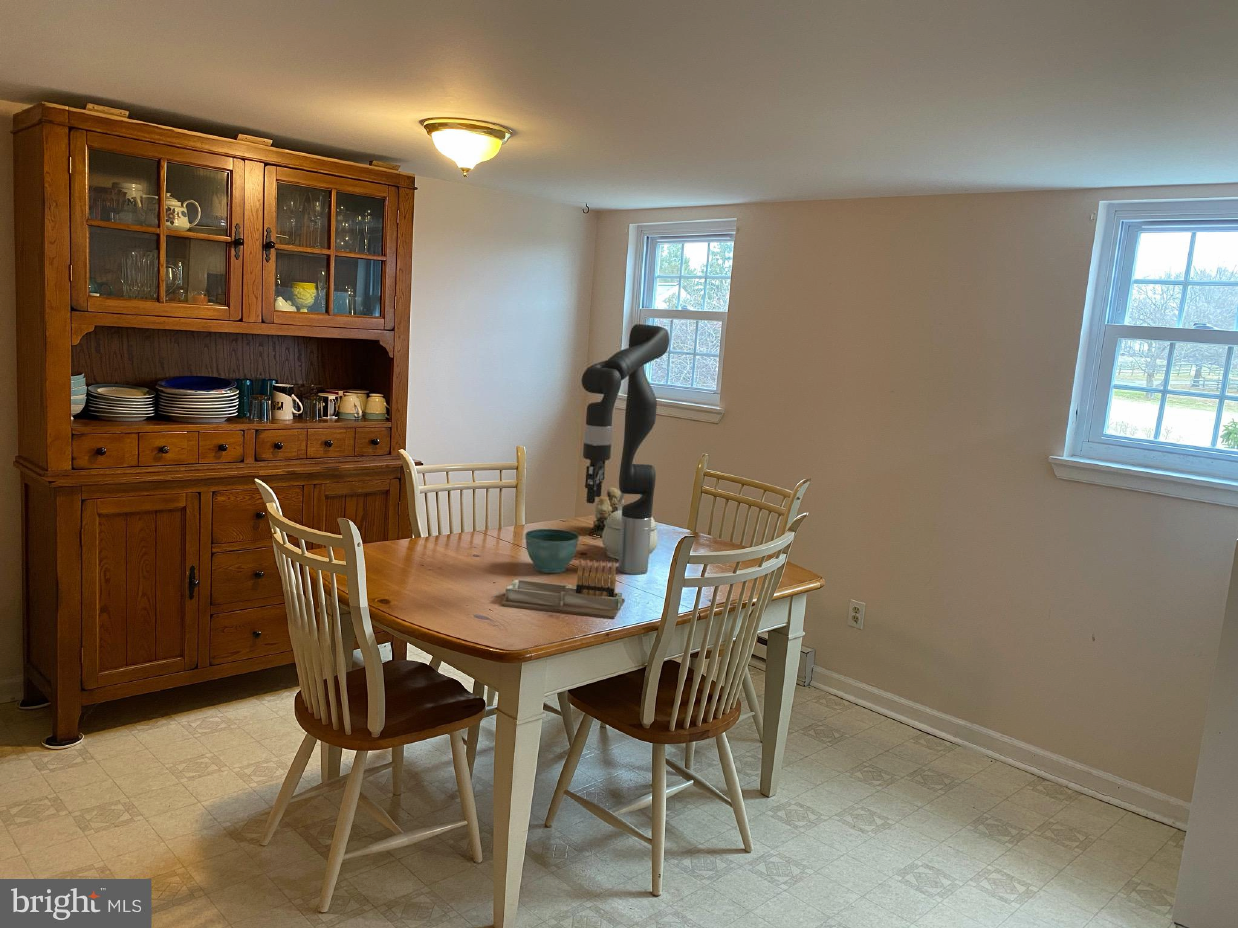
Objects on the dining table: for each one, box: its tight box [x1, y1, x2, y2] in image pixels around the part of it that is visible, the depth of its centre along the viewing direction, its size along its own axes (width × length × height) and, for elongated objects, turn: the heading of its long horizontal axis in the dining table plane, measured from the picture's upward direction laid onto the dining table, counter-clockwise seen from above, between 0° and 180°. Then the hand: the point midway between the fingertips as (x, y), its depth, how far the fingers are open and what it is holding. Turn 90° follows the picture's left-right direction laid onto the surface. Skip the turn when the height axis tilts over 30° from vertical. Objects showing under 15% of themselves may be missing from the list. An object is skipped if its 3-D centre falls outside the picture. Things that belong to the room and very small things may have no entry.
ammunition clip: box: [575, 558, 617, 598], centre depth 244 cm, size 11×2×12 cm, turn 80°
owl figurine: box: [588, 487, 625, 537], centre depth 333 cm, size 18×12×17 cm, turn 158°
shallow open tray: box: [501, 578, 626, 620], centre depth 246 cm, size 16×30×4 cm, turn 80°
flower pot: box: [524, 528, 580, 574], centre depth 279 cm, size 16×16×11 cm
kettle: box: [601, 492, 659, 560], centre depth 302 cm, size 25×18×25 cm
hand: (593, 499), depth 252 cm, fingers open, 8 cm apart
